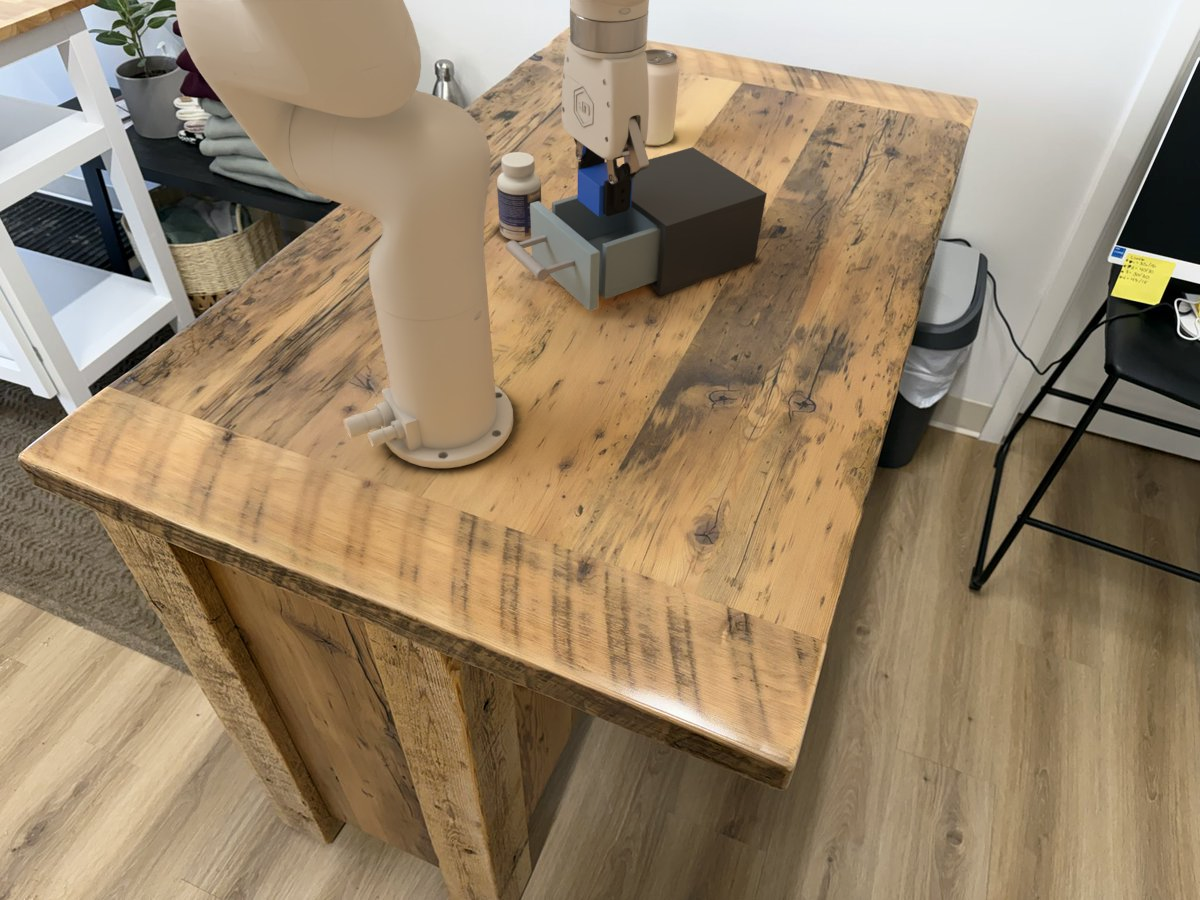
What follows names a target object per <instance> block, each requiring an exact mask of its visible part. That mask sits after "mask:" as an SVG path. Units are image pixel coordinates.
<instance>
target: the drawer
mask: <svg viewBox="0 0 1200 900" xmlns="http://www.w3.org/2000/svg"><path fill="white" fill-rule="evenodd" d="M530 216H531V239H528V240H525V241H519V242H518V241H516V240H511V239H510V240H509V241H508V242H507V243H506V246H505V249H506V251H507V252H508V253H510V255H511V256H513V258H515V260H517V261H518V262H519V263H520V264H521V265H522V266H523V267H524V268H525V269H526V270H527V271H528V272H529V273H531V274H532V275H533V276H534V277H535V278H537V280H538V281H545V280H546V279H547V277H548V275H549V276H550V277H551V278H553V279H554V281H556V282H557V283H558V285H560V286H561V287H562V288H563V289H564V290H565V291H567V292H568V293H569V294H570V295H571V296H572V297H574V299H575V300H577V301H578V302H579V303H580V305H582V306H583V307H584V308H585V309H587V311H588V312H591V311H594V310H596V309H599V296H600V297H601V298H602V299H603V300H607V299H610V298H613V297H616V296H619V295H621V294H624V293H627V292H630V291H633V290H636V289H638V288H641V287H644V286H648V285H647V284H650V283H652V282H655V281H658V269H659V258H660V246H661V235H662V229H661V228H659V227H658V226H657V225H655V224H654V223H653V222H651V221H650V220H649V219H647V218H646V217H645V216H643V215H642V214H641V213H639V212H638V211H637V210H635V209H634V208H633V207H630V208H629V210H627V211H624V212H621V213H618V214H614V215H611V216H606V215H603V216H597V215H596V214H595V213H593V212H592V211H591V210H590V209H588V208H587V207H586V206H585V205H583V204H582V203H581V202H580V201H578V194H575V195H571V196H567V197H565V198H561V199H557V200H554V201H552V202H551V209H549V208H548V207H547V206H545V204H543V203H542V202H541V203H540V202H539V201H537V202H533V203H530ZM529 247H531V254H530V252H528V251H527V250H526V249H525V248H529Z"/></svg>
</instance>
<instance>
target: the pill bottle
mask: <svg viewBox="0 0 1200 900" xmlns="http://www.w3.org/2000/svg"><path fill="white" fill-rule="evenodd" d="M500 163H501V166H500V167H501V173H500V174H499V175H498V176H497V180H496V191H497V203H498V204H497V208H498V220H499V221H498V223H499V231H500V234H501V235H502V236H503V237H504V238H505V239H508V240H510V241H511V240H514V241H516V242H518V241H519V242H522V241H525V240H528V239H531V216H530V203H533V202H537V201H539V202H540V203H542V181H541V177H540V175H538V173H537V172H536V171H535V169H536V167H535V166H536V165H535V163H536V162H535V158H534V156H533V155H532V154H531V153H527V152H523V151H513V152H508V153H507V154H504V155H502V157H501V160H500Z"/></svg>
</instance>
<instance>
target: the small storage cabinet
mask: <svg viewBox="0 0 1200 900" xmlns="http://www.w3.org/2000/svg"><path fill="white" fill-rule="evenodd" d="M648 161H649V167H648V168H646V169H644V170H641V171H639V172H638V173H637V174H636V175H635V178H633V184H632V202H631V207H633V208H634V209H635V210H637V211H638V212H639V213H641V214H642V215H643V216H645V217H646V218H647V219H649V220H650V221H651V222H653V223H654V224H655V225H657V226H658V227H659V228H661V229H662V235H661V246H660V258H659V269H658V281H655V282H652V283H650V284H647V285H646V286H648V287H649V288H650V289H651V290H652V291H653V292H655V293H656V294H657V295H659V296H660V297H661V296H664V295H666V294H669V293H672V292H675V291H677V290H680V289H683V288H685V287H689V286H691V285H694V284H696V283H699V282H702V281H705V280H707V279H710V278H713V277H716V276H718V275H721V274H723V273H726V272H730V271H732V270H734V269H737V268H740V267H743V266H745V265H748V264H751V263H755V261H756V255H757V250H758V245H759V239H760V234H761V228H762V222H763V216H764V212H765V211H764V210H765V205H766V201H767V200H766V199H767V192H765V191H763V190H762V189H760V188H759V187H758V186H755V185H754V184H752V183H751V182H749V181H747V180H746V179H745V178H743V177H741V176H739V175H738V174H737V173H735V172H733V171H732V170H730V169H729V168H727V167H725V166H724V165H722V164H720V163H719V162H717V161H715V160H714V159H713V158H711V157H709V156H707V155H706V154H704V153H703V152H702V151H699V150H698V149H696V148H695V147H688V148H685V149H681V150H677V151H674V152H670V153H667V154H664V155H660V156H657V157H653V158H648Z"/></svg>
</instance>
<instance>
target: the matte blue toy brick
mask: <svg viewBox="0 0 1200 900" xmlns="http://www.w3.org/2000/svg"><path fill="white" fill-rule="evenodd" d="M619 167H620V165H617V168H619ZM607 180H608V171H607V161H605V163H601V164H598V165H594V166H591V167H587V168H584V169H580V170H578V169H577V195H578V201H580V202H581V203H582V204H583V205H585V206H586V207H587V208H588V209H590V210H591V211H592V212H593V213H595V214H596V215H597V216H603V215H605V214H604V181H607ZM632 184H633V179H631V198H630V207H631V202H632Z"/></svg>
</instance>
